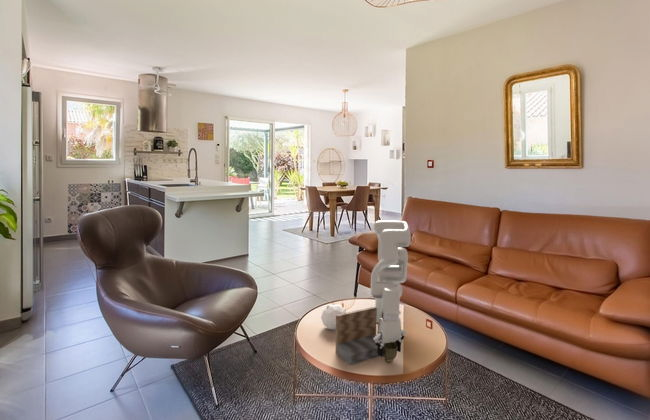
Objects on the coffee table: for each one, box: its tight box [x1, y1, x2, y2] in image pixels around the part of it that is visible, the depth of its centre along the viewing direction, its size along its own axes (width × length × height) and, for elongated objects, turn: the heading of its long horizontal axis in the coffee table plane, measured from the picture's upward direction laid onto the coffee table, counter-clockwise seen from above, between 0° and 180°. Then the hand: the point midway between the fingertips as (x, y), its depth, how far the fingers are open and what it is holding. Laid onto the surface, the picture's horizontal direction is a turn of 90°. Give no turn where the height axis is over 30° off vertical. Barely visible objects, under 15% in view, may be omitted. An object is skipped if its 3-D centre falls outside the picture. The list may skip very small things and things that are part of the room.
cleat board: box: [334, 306, 383, 366], centre depth 166 cm, size 22×12×18 cm, turn 119°
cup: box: [381, 341, 398, 364], centre depth 159 cm, size 8×7×8 cm
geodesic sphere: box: [320, 303, 346, 331], centre depth 191 cm, size 14×14×14 cm
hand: (389, 353), depth 159 cm, fingers open, 9 cm apart
